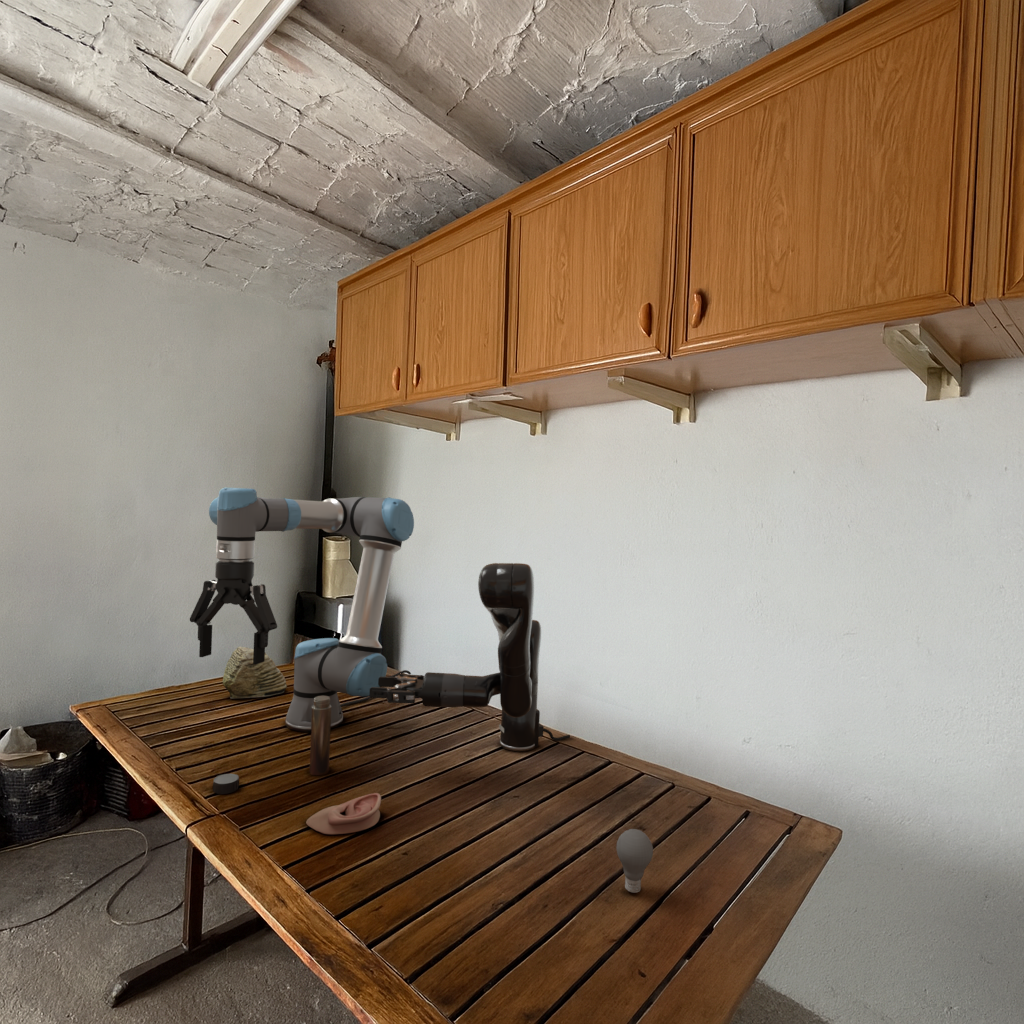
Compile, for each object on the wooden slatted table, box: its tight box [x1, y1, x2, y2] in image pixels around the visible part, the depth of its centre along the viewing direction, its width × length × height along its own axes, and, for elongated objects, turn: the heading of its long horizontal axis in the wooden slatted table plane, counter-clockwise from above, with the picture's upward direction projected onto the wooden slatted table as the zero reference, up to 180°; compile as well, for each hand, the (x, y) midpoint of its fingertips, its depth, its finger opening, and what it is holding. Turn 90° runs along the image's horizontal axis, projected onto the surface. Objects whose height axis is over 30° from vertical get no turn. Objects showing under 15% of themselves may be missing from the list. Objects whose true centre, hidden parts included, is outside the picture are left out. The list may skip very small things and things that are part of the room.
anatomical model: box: [305, 792, 382, 835], centre depth 124 cm, size 13×4×12 cm
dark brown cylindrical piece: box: [309, 696, 332, 776], centre depth 146 cm, size 4×4×17 cm
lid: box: [212, 773, 240, 795], centre depth 135 cm, size 5×5×2 cm
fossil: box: [222, 646, 288, 699], centre depth 198 cm, size 9×18×15 cm, turn 132°
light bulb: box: [615, 828, 654, 894], centre depth 106 cm, size 6×6×10 cm
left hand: (231, 659), depth 135 cm, fingers open, 13 cm apart
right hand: (374, 686), depth 145 cm, fingers open, 8 cm apart
